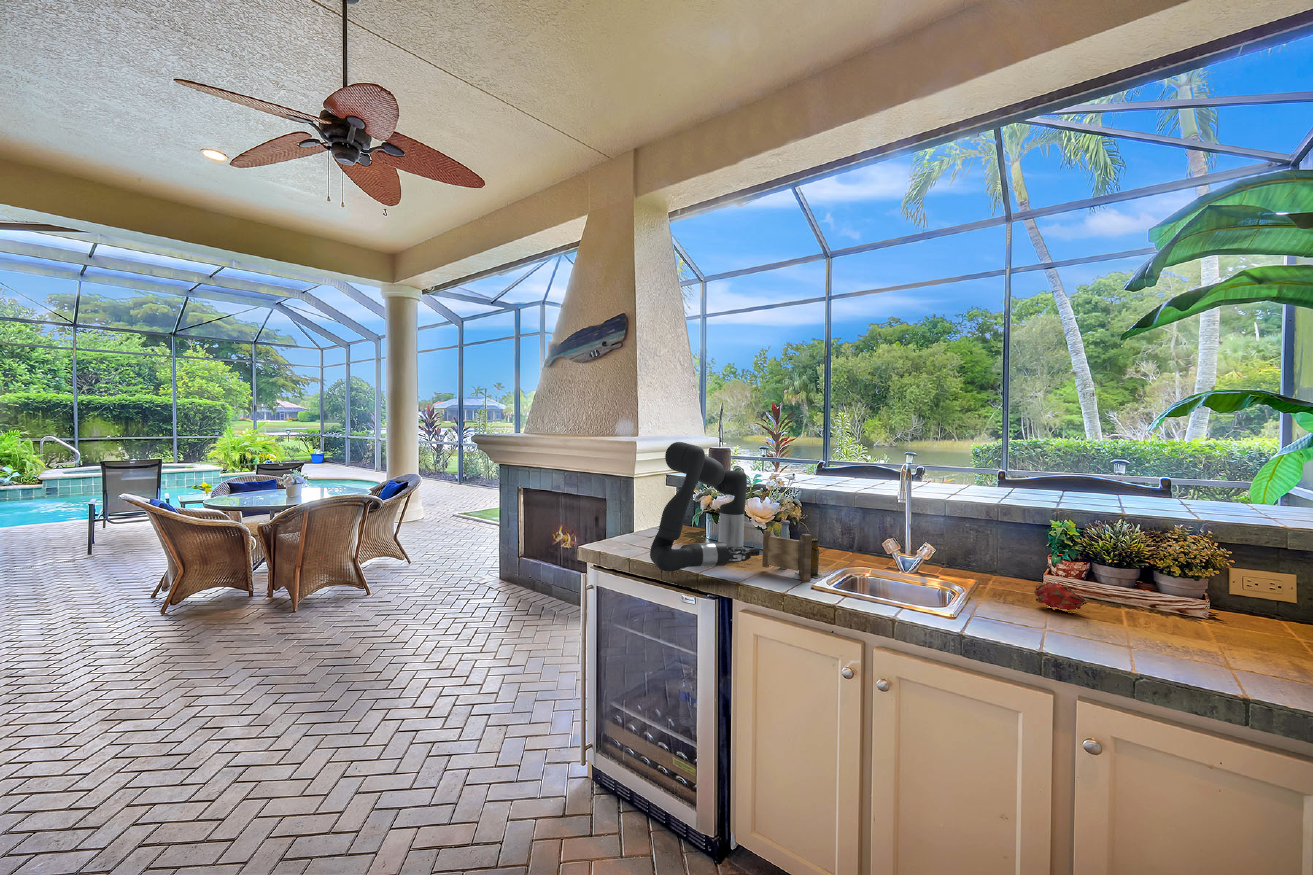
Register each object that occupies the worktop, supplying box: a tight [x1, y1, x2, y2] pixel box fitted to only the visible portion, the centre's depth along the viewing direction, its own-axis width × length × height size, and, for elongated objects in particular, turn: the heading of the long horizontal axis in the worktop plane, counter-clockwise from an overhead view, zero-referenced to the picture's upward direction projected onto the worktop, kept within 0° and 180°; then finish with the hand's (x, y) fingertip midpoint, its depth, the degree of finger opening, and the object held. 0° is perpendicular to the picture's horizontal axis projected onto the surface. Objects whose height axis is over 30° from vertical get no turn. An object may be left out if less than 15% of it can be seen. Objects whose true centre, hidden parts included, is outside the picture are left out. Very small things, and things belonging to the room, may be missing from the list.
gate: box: [761, 529, 801, 577], centre depth 177 cm, size 14×2×13 cm, turn 50°
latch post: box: [779, 519, 791, 570], centre depth 186 cm, size 3×3×17 cm
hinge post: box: [799, 533, 813, 583], centre depth 171 cm, size 2×2×15 cm
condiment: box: [794, 537, 828, 579], centre depth 179 cm, size 7×8×12 cm
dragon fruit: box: [1033, 581, 1088, 611], centre depth 148 cm, size 8×8×12 cm
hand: (758, 551), depth 175 cm, fingers closed
